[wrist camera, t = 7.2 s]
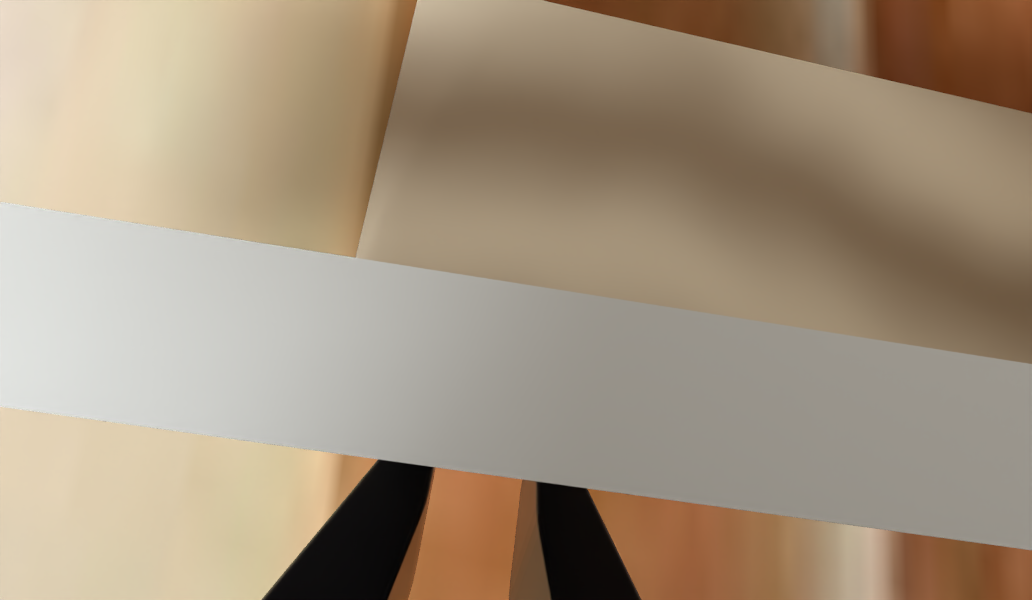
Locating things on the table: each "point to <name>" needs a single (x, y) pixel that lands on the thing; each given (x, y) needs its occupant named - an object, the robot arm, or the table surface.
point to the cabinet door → (507, 379)
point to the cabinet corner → (703, 179)
